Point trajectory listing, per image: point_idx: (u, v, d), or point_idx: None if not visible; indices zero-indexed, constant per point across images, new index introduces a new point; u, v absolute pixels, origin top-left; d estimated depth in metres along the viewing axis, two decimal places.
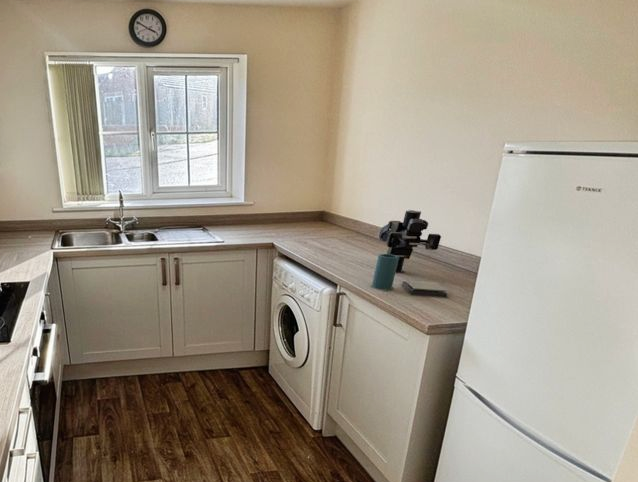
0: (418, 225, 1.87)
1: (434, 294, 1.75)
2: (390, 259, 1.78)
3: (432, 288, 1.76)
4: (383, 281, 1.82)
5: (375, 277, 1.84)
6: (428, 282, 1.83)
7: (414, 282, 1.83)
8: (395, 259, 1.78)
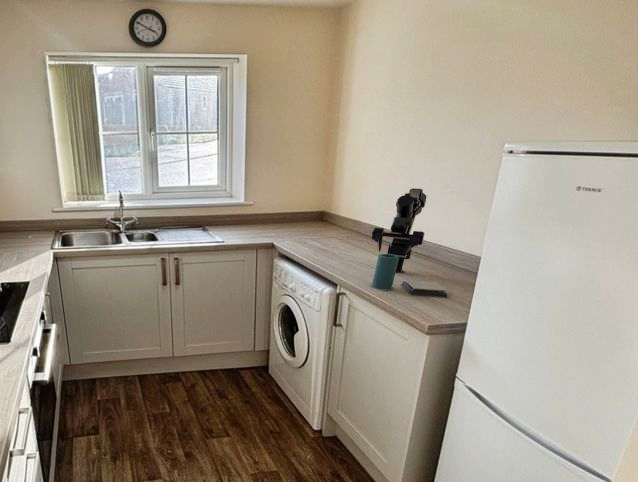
0: (400, 225, 1.83)
1: (434, 294, 1.75)
2: (390, 259, 1.78)
3: (432, 288, 1.76)
4: (383, 281, 1.82)
5: (375, 277, 1.84)
6: (428, 282, 1.83)
7: (414, 282, 1.83)
8: (395, 259, 1.78)
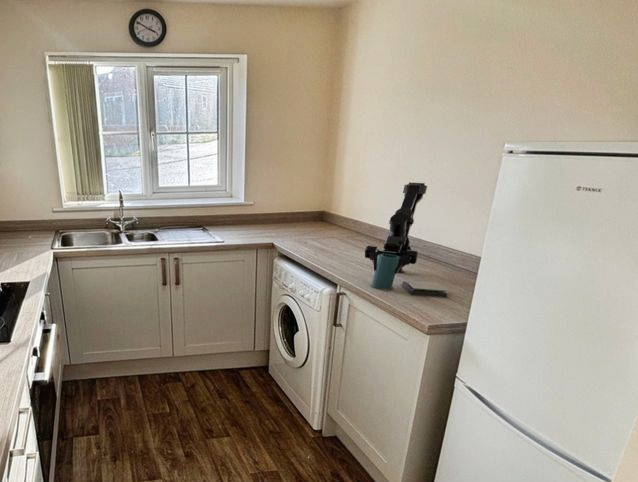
0: (393, 244, 1.79)
1: (434, 294, 1.75)
2: (391, 259, 1.78)
3: (432, 288, 1.76)
4: (383, 281, 1.82)
5: (375, 277, 1.84)
6: (428, 282, 1.83)
7: (414, 282, 1.83)
8: (396, 259, 1.78)
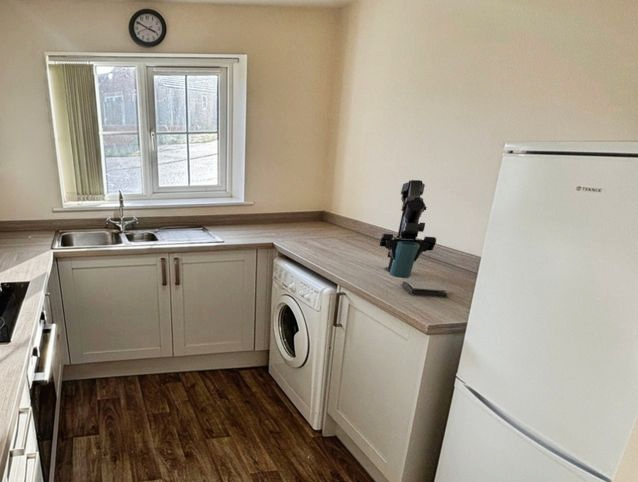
0: (412, 231, 1.74)
1: (434, 294, 1.75)
2: (411, 247, 1.73)
3: (432, 288, 1.76)
4: (403, 269, 1.77)
5: (394, 265, 1.79)
6: (428, 282, 1.83)
7: (414, 282, 1.83)
8: (416, 247, 1.73)
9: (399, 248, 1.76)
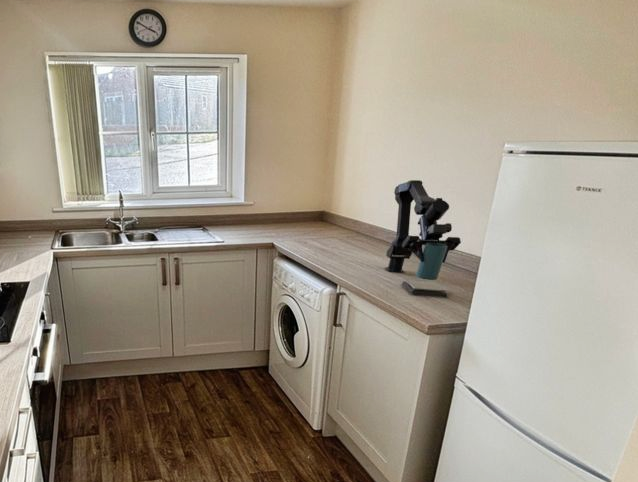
0: (440, 232, 1.72)
1: (434, 294, 1.75)
2: (443, 248, 1.70)
3: (432, 288, 1.76)
4: (434, 271, 1.74)
5: (424, 268, 1.75)
6: (428, 282, 1.83)
7: (414, 282, 1.83)
8: (446, 248, 1.71)
9: (430, 250, 1.72)
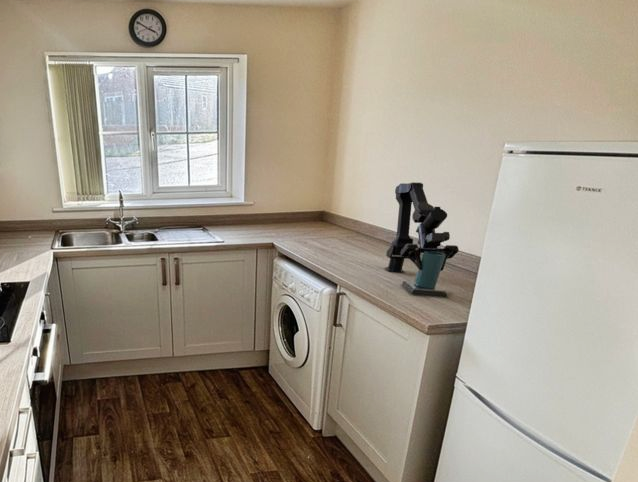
0: (438, 241, 1.73)
1: (434, 294, 1.75)
2: (441, 257, 1.72)
3: (432, 289, 1.76)
4: (432, 279, 1.75)
5: (422, 276, 1.77)
6: None
7: None
8: (444, 256, 1.72)
9: (428, 258, 1.74)
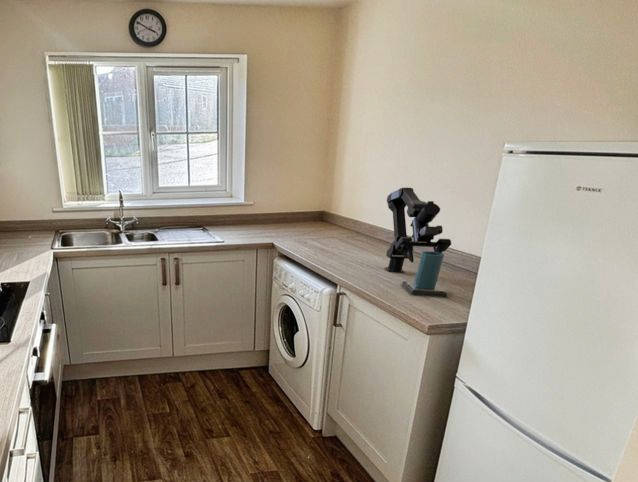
0: (431, 234, 1.79)
1: (434, 294, 1.75)
2: (439, 257, 1.72)
3: (432, 289, 1.76)
4: (431, 280, 1.76)
5: (422, 276, 1.77)
6: None
7: None
8: (443, 256, 1.73)
9: (426, 259, 1.74)
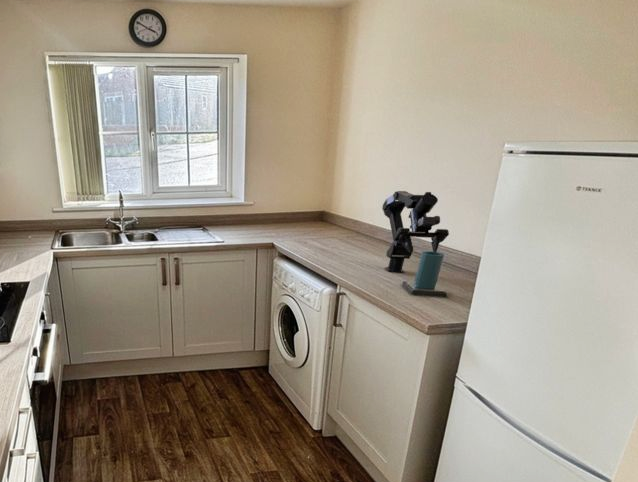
0: (429, 224, 1.81)
1: (434, 294, 1.75)
2: (439, 257, 1.72)
3: (432, 289, 1.76)
4: (431, 280, 1.76)
5: (422, 276, 1.77)
6: None
7: None
8: (443, 256, 1.73)
9: (426, 259, 1.74)
